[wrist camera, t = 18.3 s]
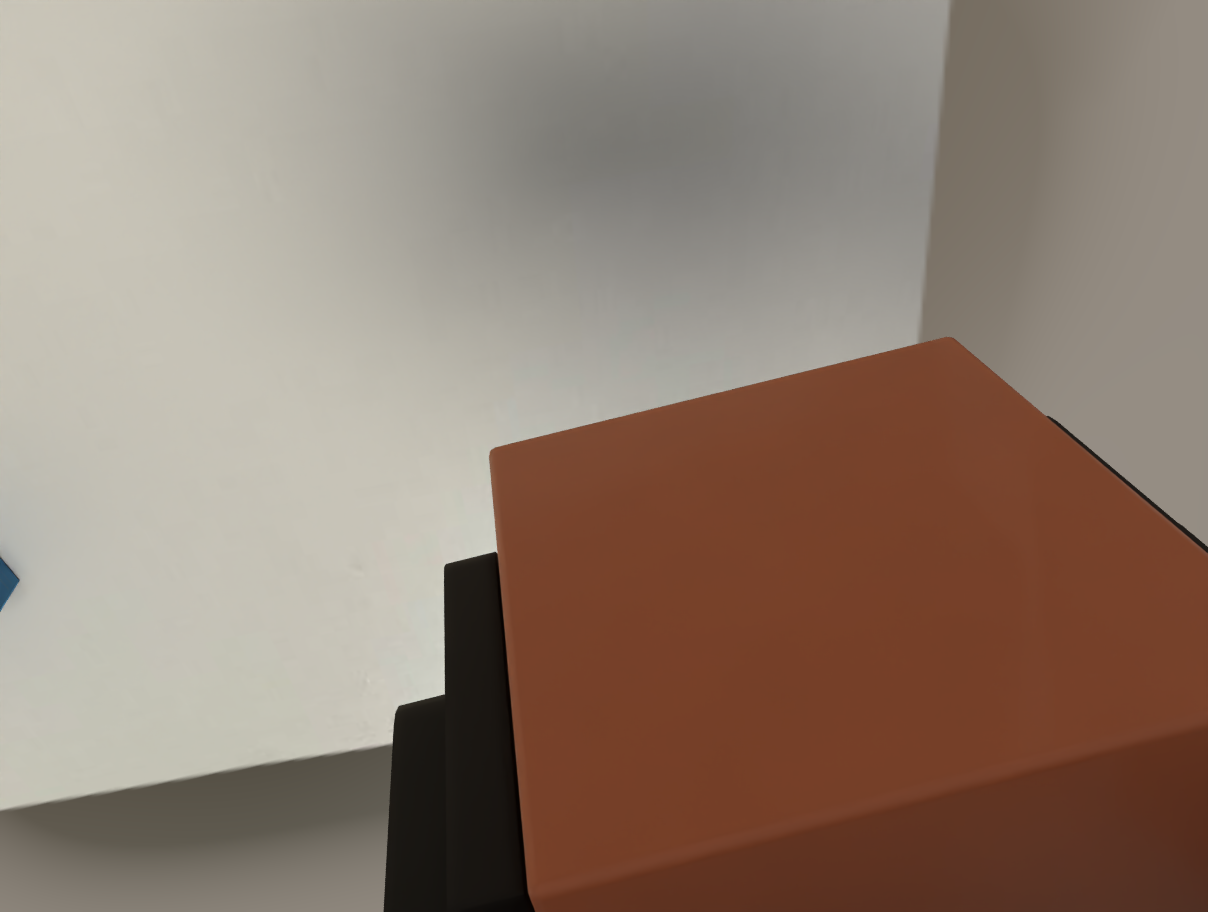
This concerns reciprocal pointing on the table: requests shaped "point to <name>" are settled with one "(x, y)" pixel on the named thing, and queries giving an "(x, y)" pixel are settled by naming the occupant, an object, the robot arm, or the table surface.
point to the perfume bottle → (6, 583)
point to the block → (851, 656)
